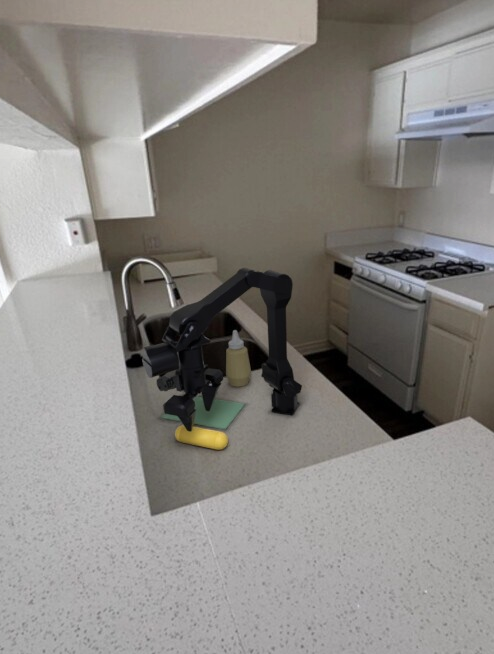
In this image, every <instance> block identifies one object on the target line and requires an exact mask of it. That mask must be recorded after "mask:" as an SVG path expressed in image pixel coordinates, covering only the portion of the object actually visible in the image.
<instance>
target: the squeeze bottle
mask: <svg viewBox="0 0 494 654" xmlns="http://www.w3.org/2000/svg"><path fill="white" fill-rule="evenodd" d="M244 345H245V343H244V340H243V339H240V335H239V332H238V330H237V329H234V330H232V336H231V340H229V341H228V348H226V350H225V351H226V356H225V357H226V358H225V376H226V379H228V381H229V382H228V383H229V384H230V385H231V386H232V387H238V388H240V387H244V386H247V385H248V384H249V382H250V378H251V375H252V370H251V369H252V368H251V364H250V358H249V352H248V348H247V347H246V346H244Z"/></svg>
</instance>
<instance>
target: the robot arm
mask: <svg viewBox="0 0 494 654" xmlns="http://www.w3.org/2000/svg"><path fill="white" fill-rule="evenodd" d="M293 287H294V283H293V279H292V277H290V275H288V274H286V273H283V272H279V271H277V270H272V269H267V270H266V271H264V272H262V271H258V270H254V269H252V268H248V267H241V268H239V269H238V271H236V273H235V274H234V275H232V276H231V277H229V278H228V279H227V280H225V281H224V282H223V283H222V284H220V285H219V286H218V287H215V289H213V290H212V291H211V292H210V293H208V294H207V295H206V296H204V297H203V298H202V299H200V300H198V301H195V302H193V303H190V304H186V305H184V306H182V307H180V308H178V309H177V310H175V311H173V312H172V313H171V315H170V316H169V322H168V326H167V327H166V330H165V332H164V334H163V335H162V338H161V340H162V342H161V343H158V344H154V345H147V346H144V347H143V353H142V358H141V361H142V366H143V368H144V371H145V374H146V375H147V377H148V378H150V379H151V378H154V377H155V378H156V377H158V378H156V387H157V389H158V390H159V391H160V392H168V391H169V390H175V389H176V392H183V395H177V394H173V395H172V396H171V397H170V398H168V399H167V400H166V401H165V402H164V403H163V405H162V409H163V413H164V414H169V415H175V416H178V418H179V419H180V420H181V421H180V422H181V423H182V425H184V426H185V428H186V430H187V431H189V432H191V431H192V429H193V427H194V425H195V424H194V419H195V413H196V409H194V408H195V401H194V399H195V398H196V397H197V396H200V394H201V397H202V398H203V402H204V406H205V410H206V411H210V410H211V407H212V404H213V402H214V399H216V397H217V394H218V392H219V390H220V387H221V385H222V382H223V381H224V374H223V371H221V370H220V369H217V368H210V367H209V365H208V364H205V361H204V352H203V346H204V345H207V344H210V343H211V339H209V338H208V337H206V336H205V335H204V332H206V330H207V329H208V328H209V327H210V325H211V323H212V320H213V319H214V318H215V317H216V316H217V315H218V314H220V313H221V312H222V311H224V310H225V309H226V308H227V307H228V306H230V305H231V304H232V303H234V302H235V301H236V300H238V299H239V298H240V297H242V296H243V295H245V293H247V292H248V291H250V289H252V288H256V289H259V292H260V296H261V298H262V300H263V303H264V304H265V306H266V307H265V308H266V320H267V321H266V322H267V343H268V344H267V345H268V347H267V348H268V358H267V360H266V361H265V362H263V363H261V367H260V368H261V376H260V377H261V378H263V381H265V383H266V384H268V385H269V387H271V388H273V389H272V392H271V394H270V397H271V398H270V400H271V407H272V408H271V410H270V411H271V413H274V414H280V415H281V414H282V415H288V416H294V414H295V413H296V412H297V409H298V408H299V405H300V402H299V401H298V394H300V393H301V392H302V389H303V385H302V384H301V383H299V382H298V381H296V379H295V376H294V370H293V367H292V365H291V363H290V361H289V359H288V337H287V336H288V335H287V306H288V305H289V302H290V300H291V299H292V296H293V295H292V294H293ZM176 336H179V338H177V337H176Z"/></svg>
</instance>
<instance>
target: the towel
mask: <svg viewBox="0 0 494 654" xmlns="http://www.w3.org/2000/svg"><path fill="white" fill-rule="evenodd" d="M194 401H195V408H194V409H196V413H195V419H194V424H193V425H197V426H198V425H199V426H204V427H209V428H215V429H221V430H225V431H226V430H227V429H228V428H229V427H230V425H231V424H232V422H233V421H234V420H235V418H236V417H237V416H238V414H240V412H241V411H242V409H243V408H244V407H245V405H246V403H242V402H235V401H231V400H230V401H229V400H223V399H217V398H215V399H214V402H213V404H212V407H211V410H210V411H206V410H205V406H204V402H203V398H202V396H200V395H198V396H197V397H196V398H195V399H194ZM161 419H166V420H169V421H177V422H181V420H180V419H179V418H178V416H175V415H169V414H165V413H164V414H163V415H161Z"/></svg>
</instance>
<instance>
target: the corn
mask: <svg viewBox="0 0 494 654" xmlns="http://www.w3.org/2000/svg"><path fill="white" fill-rule="evenodd" d="M174 437H175V439H176V440H177V441H178V442H179V443H182V444H188V445H192V446H197V447H203V448H207V449H211V450H217V451H221V450H223V449H225V448H226V447H227V446H228V444H229V437H228V435H227V434H226V433H225V432H223V431H219V430H213V429H208V428H204V427H198V426H193V429H192V431H191V432H189V431H187V430H186V428H185V426H184V425H183V424H182V425H179V426H178V427H177V428H176V430H175V432H174Z"/></svg>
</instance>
